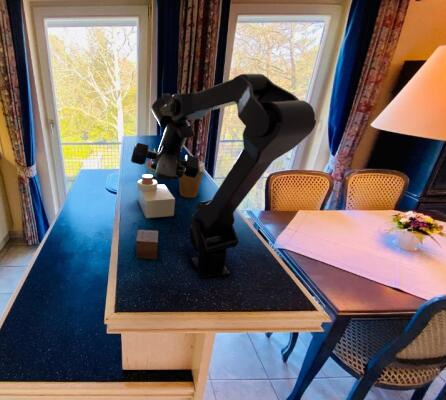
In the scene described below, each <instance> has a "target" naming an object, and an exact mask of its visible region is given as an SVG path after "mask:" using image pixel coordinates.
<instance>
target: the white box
mask: <svg viewBox="0 0 446 400" xmlns="http://www.w3.org/2000/svg"><path fill="white" fill-rule="evenodd" d="M136 188H137V190H138V203H139V206H140V208H141V211H142V212H143V215H144V217H145V219H151V218H152V219H153V218H154V219H155V218H163V217H164V218H165V217H174V216H175V204H176V198H175V197H174V196H173V194H172V193H171V191H170V190H169V189H168V187H167V186H166V185H165V184H164V183H163V184H158V180H157V179H153V184H149V185H146V184H142V178H141V179H138V181H137V182H136Z"/></svg>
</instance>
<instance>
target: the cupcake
mask: <svg viewBox="0 0 446 400" xmlns="http://www.w3.org/2000/svg"><path fill="white" fill-rule="evenodd" d="M153 151H154V152H156V149H155V148H153ZM151 161H152V159H150V160H148V161H147V162H145V168H146V169H147V171H148V174H150V175H152V176H153V178H156V177H155V172H156V171H155V169H152V168H151Z"/></svg>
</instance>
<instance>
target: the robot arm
mask: <svg viewBox="0 0 446 400" xmlns="http://www.w3.org/2000/svg"><path fill="white" fill-rule="evenodd" d="M234 105H236V109H237V111H236V112H237V117H238V119H239V120H240V122H242V124H243V125H244V129H243V132H242V142H243V143H242V144H243V149H242V150H241V152H240V153H239V155H238V157H237V158H236V160H235V162H234V163H233V165H232V167H231V168H230V170H229V171H228V173H227V174H226V176H225V178H224V179H223V181H222V182H221V184H220V186H219V187H218V188H217V191H216V192H215V194H214V196H213V197H212V199H210V200H203V201H199V202H197V203H196V205H195V207H194V209H193V211H192V212H191V213H190V215H191V217H190V220H189V223H188V224H189V236H190V243H191V244H190V245H192V246H193V251H195V252H197V253H198V255H197V257H192V258H191V262H192V264H193V265H194V268H195V270H196V271H197V272H198V274H199V276H200V277H201V278H202V279H208V278H216V277H224V276H229V275H230V271H229V270H228V269H227V267H226V265H225V263H226V259H227V258H226V257H227V254H228V253H227V249H230V248H236V247H237V245H238V244H239V242H240V240H239V237H238V235H237V233H236V230H235V228H234V224H235V221H236V220H235V219H236V218H235V213H234V212H236V210H237V209H238V207H239V206H240V205H241V204H242V202H243V200H245V198H246V197H247V196H248V194H249V193H250V191H251V190H252V189H253V188H254V187H255V185H256V184H257V182H258V181H259V180H260V179H261V178H262V176H263V175H264V173H265V172H266V171H267V169H269V167H270V166H271V165H272V164H273V162H274V161H276V160H277V159H278V158H281V157H282V156H283V155H285V154H287V153H288V152H290V151H292V150H293V149H295V148H296V147H297V146H298V145H299V144H300V143H301V142H302V141H304V140H305V139H306V138H307V137H309V135H311V133H312V132H313V130H314V129H315V126H316V123H317V120H316V112H315V110H314V107H313V106H312V105H311V104H310V103H309V102H308V101H305V100H300V99H299V98H298V97H297V96H296V95H295V94H293V93H292V92H290V91H288V90H286V89H285V88H283V87H281V86H279V85H277V84H275V83H274V82H273V81H271V79H270V78H268V76H266V75H264V74H262V73H240V74H239V75H237V76H235V77H234V78H232V79H228V80H226V81H224V82H221V83H219V84H216V85H213V86H211V87H207V88H205V89H202V90H200V91H197V92H186V93H185V92H183V93H174V94H172V95H171V93H168V92H167V93H162V95H161V97H159V98H158V99H156V100H155V101H154V102H153V104H152V105H151V112H152V114H153V116H154V117H155V119H156V121H157V122H158V124H159V126H160V127H161V128H164V132H163V135H162V138H161V141H160V144H159V147H158V150H157V151H155V152H154V150H150V145H149V144H145V143H140V142H136V143H134V146H133V150H132V155H131V159H130V162H131V163H132V164H135V165H140V166H143V165H146V163H147V162H146V161H147V159H148V160H149V159H150V160H152V161H151V168H152V169H155V171H156V172H155V177H154V178H156V181H157V182H160V181H161V180H162V181H163V180H164V181H167V182H171V181H173V180H176V181H179V178H182V176H183V174H185V175H186V176H189V177H193V178H196V177H197V176H198V174H199V171H200V161H201V160H200V158H199V157H198V156H192V155H189V154H186V155H185V157H184V159H181V158H180V156H181V153H182V150H183V148H184V146H185V143H186V140H187V138H194V137H195V131H194V129H193V125H191V124H190V122H189V121H196V120H200V119H201V118H204V117H205V116H207V115H208V114H209V112H212V111H214V110H218V109H223V108H227V107H230V106H234Z"/></svg>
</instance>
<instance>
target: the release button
mask: <svg viewBox="0 0 446 400" xmlns="http://www.w3.org/2000/svg"><path fill="white" fill-rule="evenodd" d="M141 179H142V184H146V185H149V184H153V180H154V177H153V176H152V175H150V174H149V173H146V174H142V175H141Z"/></svg>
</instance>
